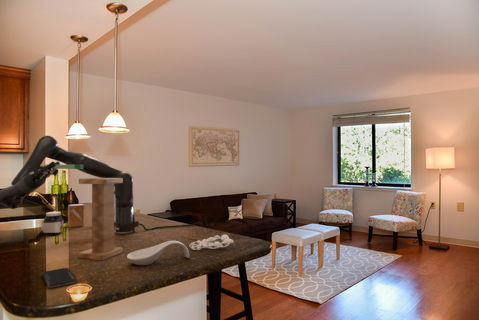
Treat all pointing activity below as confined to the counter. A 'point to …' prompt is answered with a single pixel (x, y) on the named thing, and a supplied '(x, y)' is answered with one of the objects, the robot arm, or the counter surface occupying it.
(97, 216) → the wooden pedestal stand
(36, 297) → the counter surface
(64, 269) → the phone
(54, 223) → the spread jar
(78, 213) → the small box
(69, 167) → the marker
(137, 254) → the spoon rest
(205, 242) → the tangled rod sculpture
